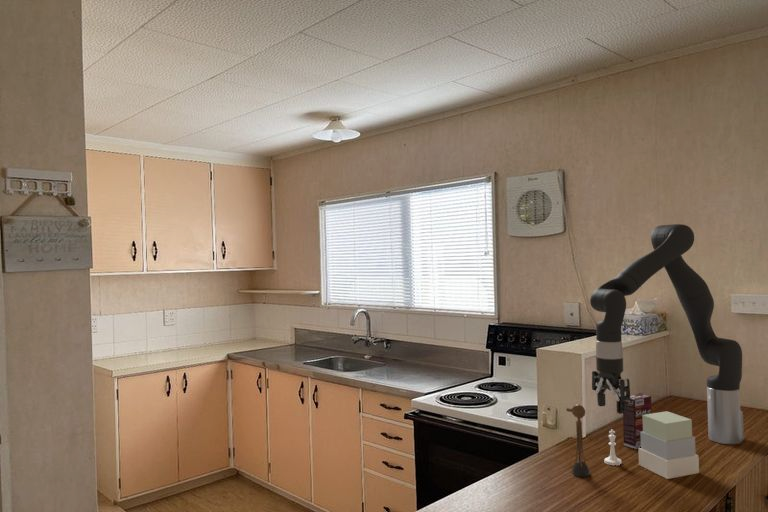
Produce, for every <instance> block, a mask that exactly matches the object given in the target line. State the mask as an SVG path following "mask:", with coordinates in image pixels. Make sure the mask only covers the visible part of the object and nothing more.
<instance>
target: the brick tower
mask: <svg viewBox="0 0 768 512" xmlns="http://www.w3.org/2000/svg"><path fill="white" fill-rule="evenodd" d="M642 418H643V431H641V432H640V436H641V448H637V449H638V452H637V453H638V465H639V466H640V467H642V468H645V469H646V470H648V471H650V472H652V473H654V474H656V475H659V476H660V477H663V478H664V479H666V480H669V479H675V478H681V477H685V476H689V475H696V474H699V473H700V467H699V466H700V465H699V464H700V462H699V461H700V460H699V457H700V456H699V454H696V437H695V436H693V424H692V423H693V421H692V420H693V419H691V418H688V417H685V416H682V415H679V414H676V413H673V412H670V411H667V410H666V411H660V412H652V414H646V415H642Z"/></svg>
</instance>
